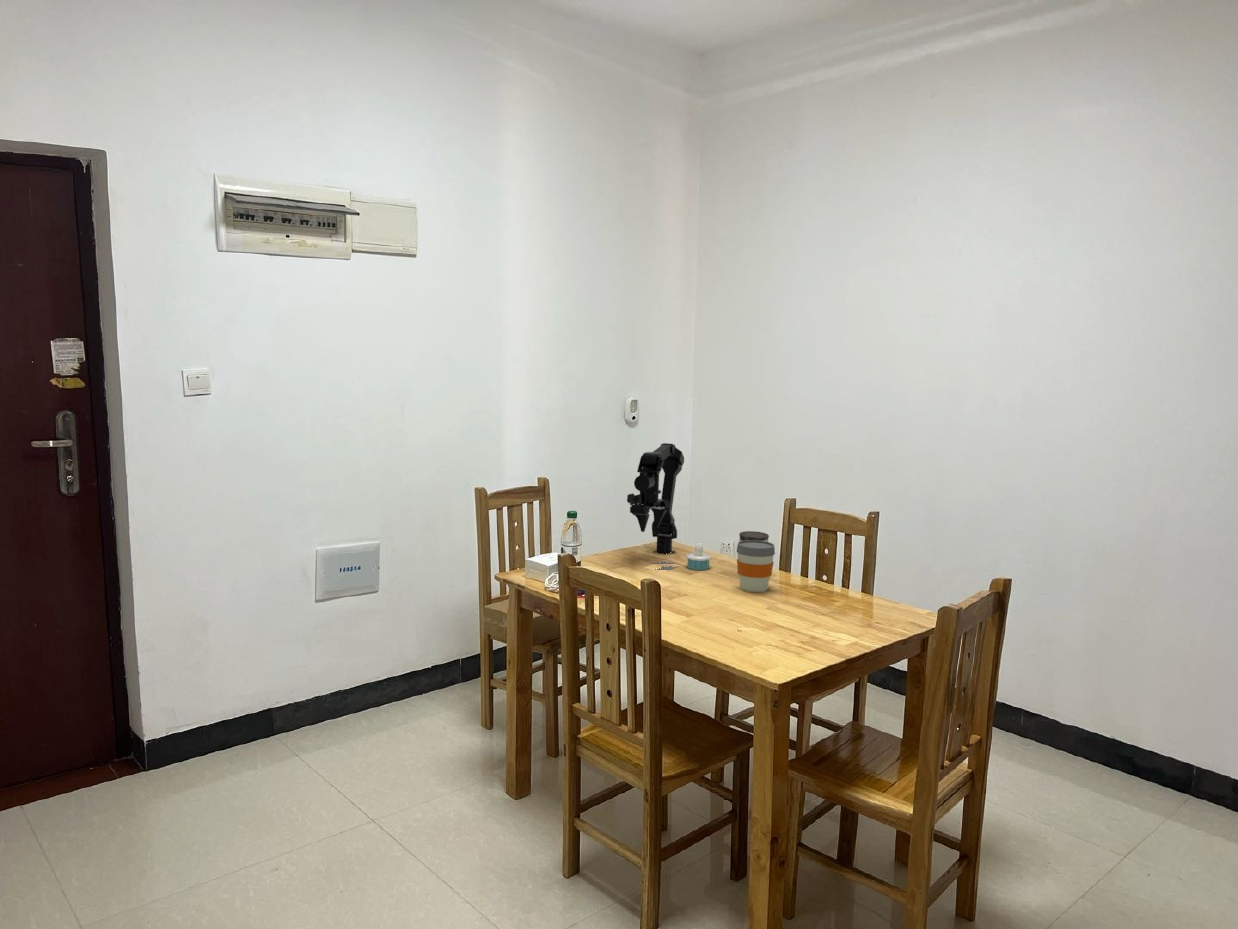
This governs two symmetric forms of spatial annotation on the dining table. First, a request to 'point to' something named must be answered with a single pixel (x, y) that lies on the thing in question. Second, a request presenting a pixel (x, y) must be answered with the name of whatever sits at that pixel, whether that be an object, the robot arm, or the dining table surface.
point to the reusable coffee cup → (755, 564)
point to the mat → (666, 566)
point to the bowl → (698, 565)
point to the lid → (698, 553)
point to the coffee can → (753, 536)
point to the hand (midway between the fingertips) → (649, 529)
